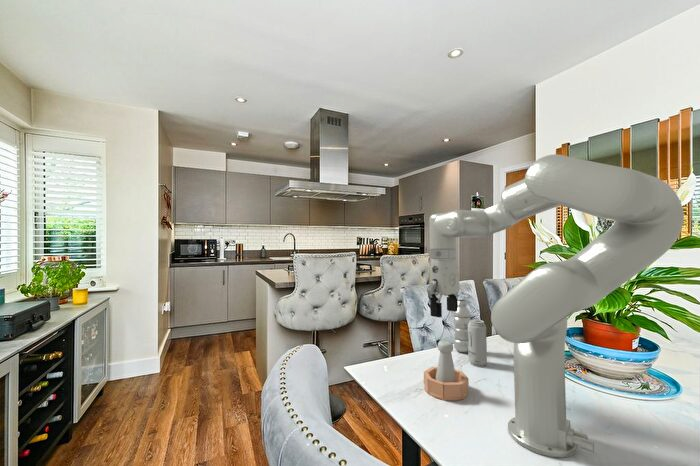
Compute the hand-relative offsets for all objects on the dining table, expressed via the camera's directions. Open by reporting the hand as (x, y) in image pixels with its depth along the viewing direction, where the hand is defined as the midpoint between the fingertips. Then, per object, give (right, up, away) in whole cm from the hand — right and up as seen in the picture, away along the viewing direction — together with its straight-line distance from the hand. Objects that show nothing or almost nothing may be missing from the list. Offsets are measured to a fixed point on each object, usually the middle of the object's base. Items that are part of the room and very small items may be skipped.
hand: (444, 313), depth 87 cm
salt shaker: (0, -22, -1) cm, 22 cm away
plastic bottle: (+17, -23, +30) cm, 41 cm away
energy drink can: (+17, -23, +18) cm, 34 cm away
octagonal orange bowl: (0, -22, -1) cm, 22 cm away
